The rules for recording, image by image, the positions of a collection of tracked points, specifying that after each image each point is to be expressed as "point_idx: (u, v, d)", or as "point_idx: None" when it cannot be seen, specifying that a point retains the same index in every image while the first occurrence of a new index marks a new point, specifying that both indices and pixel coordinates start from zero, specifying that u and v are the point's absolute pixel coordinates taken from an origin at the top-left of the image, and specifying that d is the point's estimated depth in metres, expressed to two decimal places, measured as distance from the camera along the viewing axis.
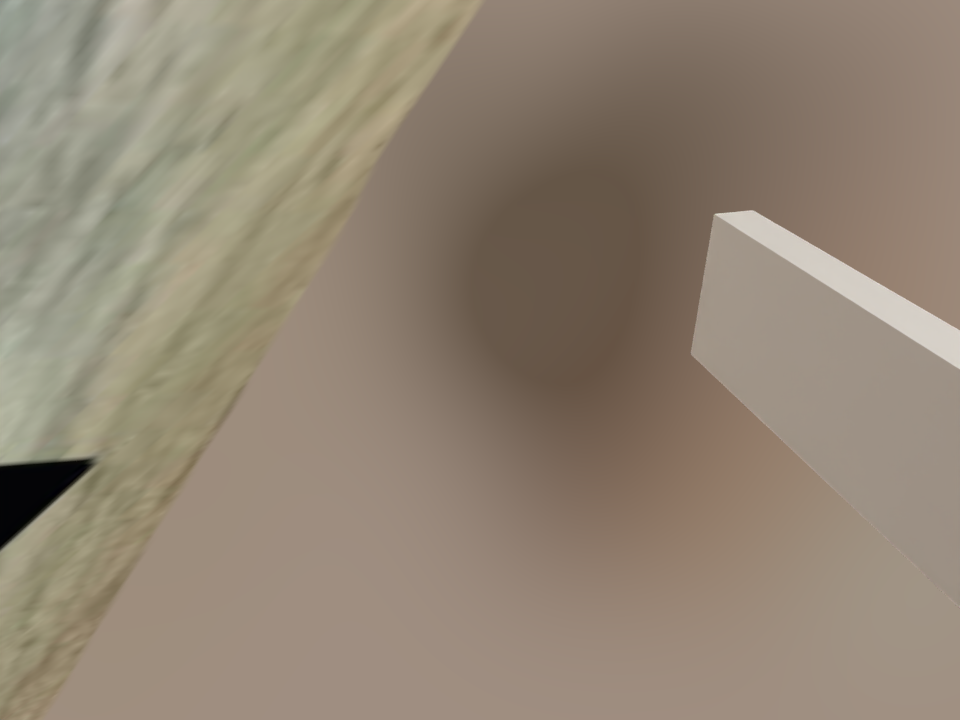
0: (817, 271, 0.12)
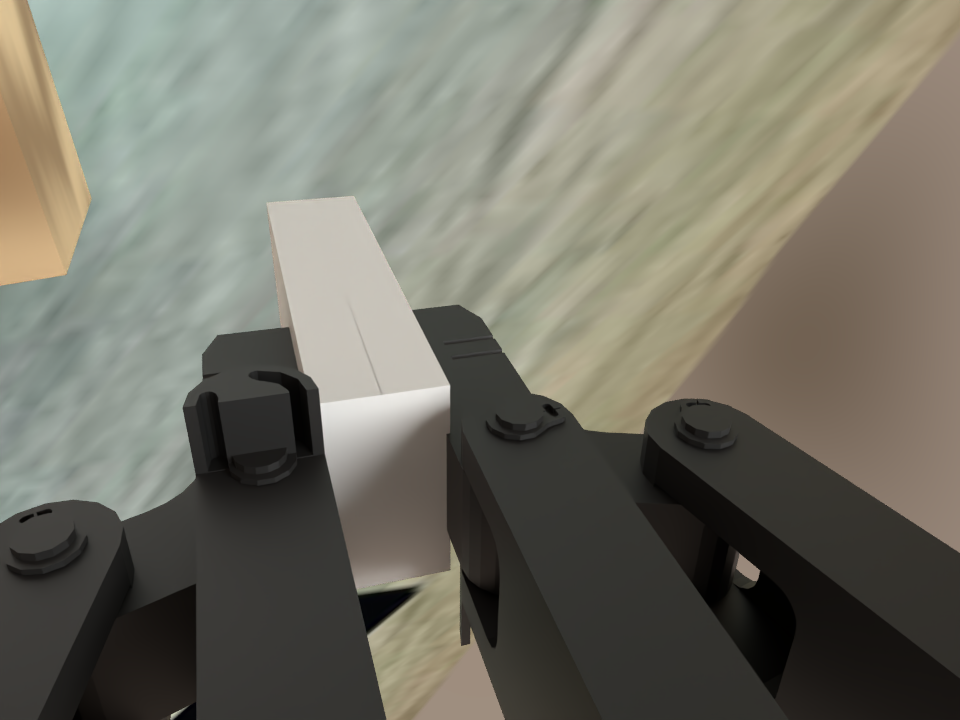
0: (342, 252, 0.12)
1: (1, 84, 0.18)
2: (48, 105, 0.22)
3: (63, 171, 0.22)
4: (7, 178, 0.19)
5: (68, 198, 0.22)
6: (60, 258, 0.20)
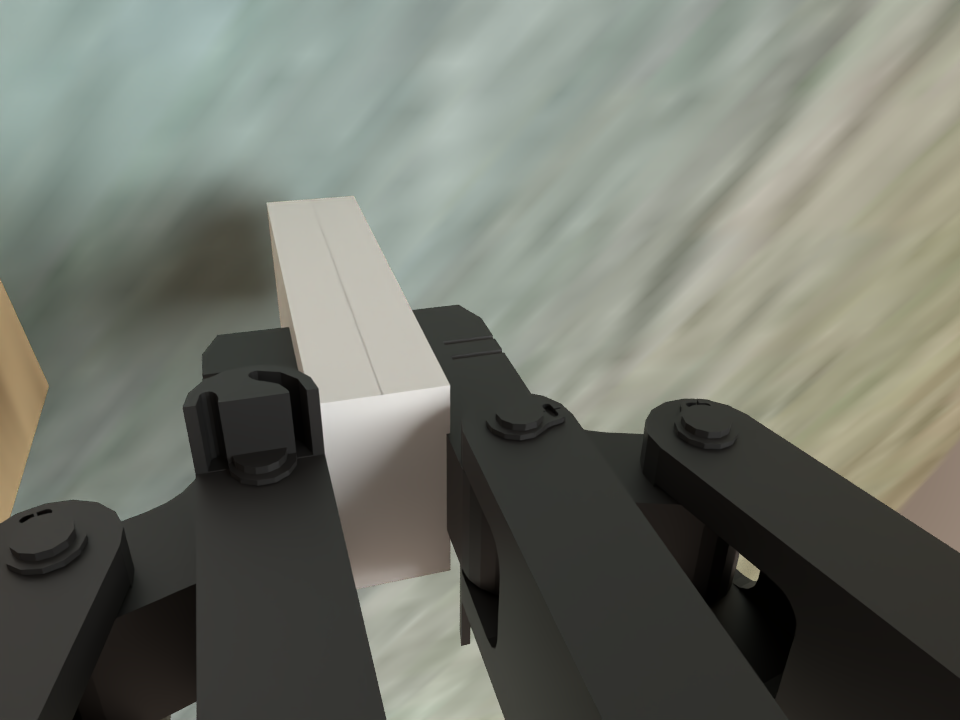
0: (342, 252, 0.12)
1: None
2: None
3: None
4: None
5: None
6: None
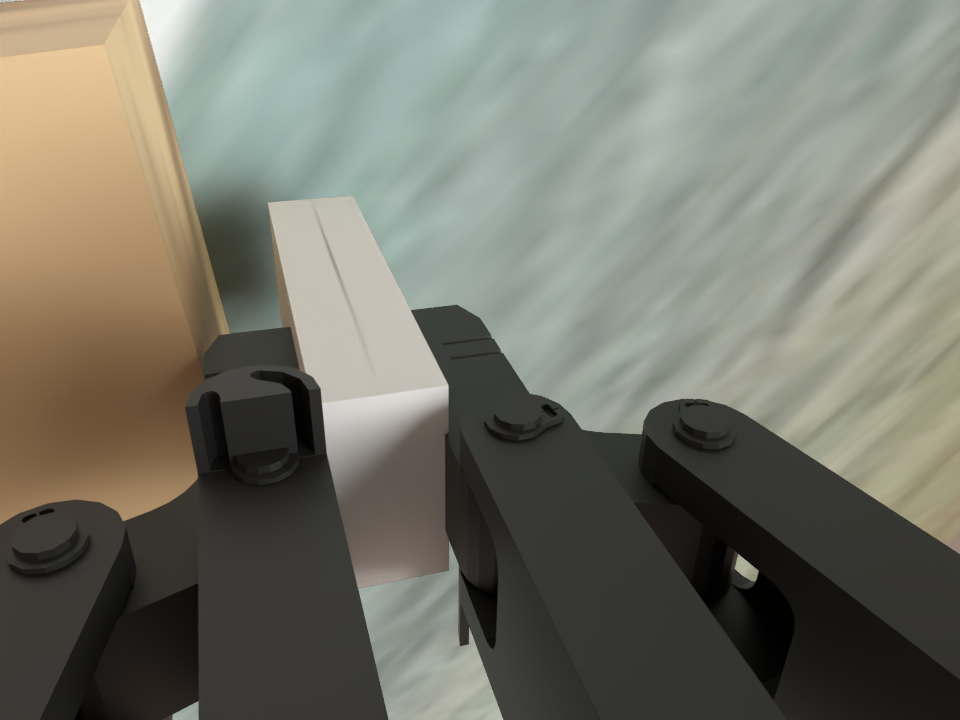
0: (341, 252, 0.12)
1: (166, 241, 0.10)
2: (194, 232, 0.14)
3: (218, 335, 0.14)
4: (169, 396, 0.11)
5: None
6: None
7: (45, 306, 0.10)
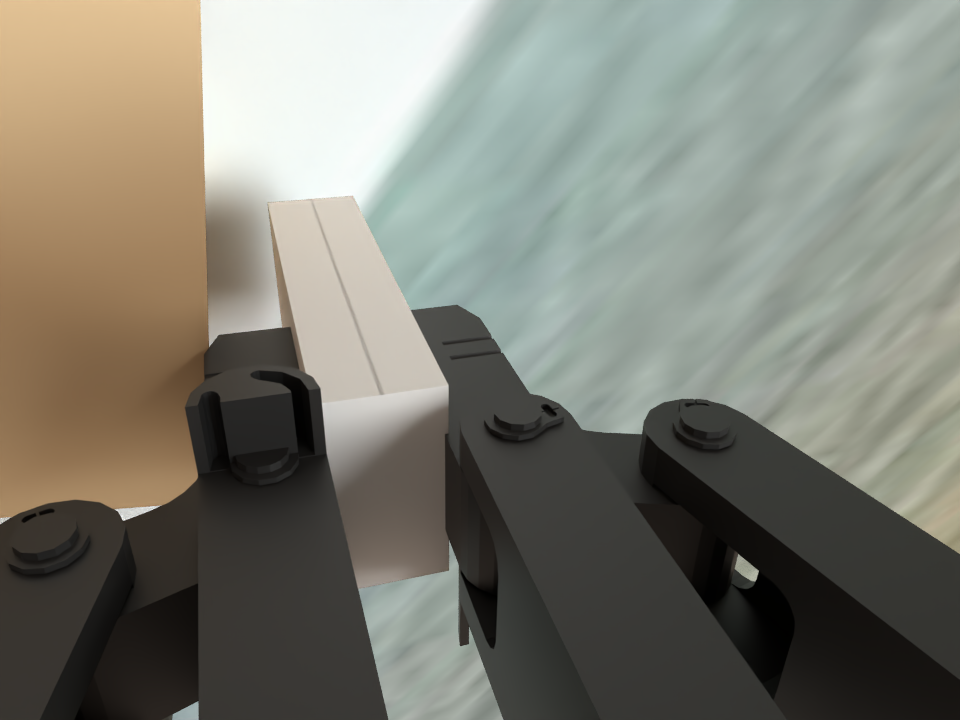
0: (341, 252, 0.12)
1: None
2: None
3: None
4: (168, 346, 0.11)
5: None
6: None
7: (70, 229, 0.10)
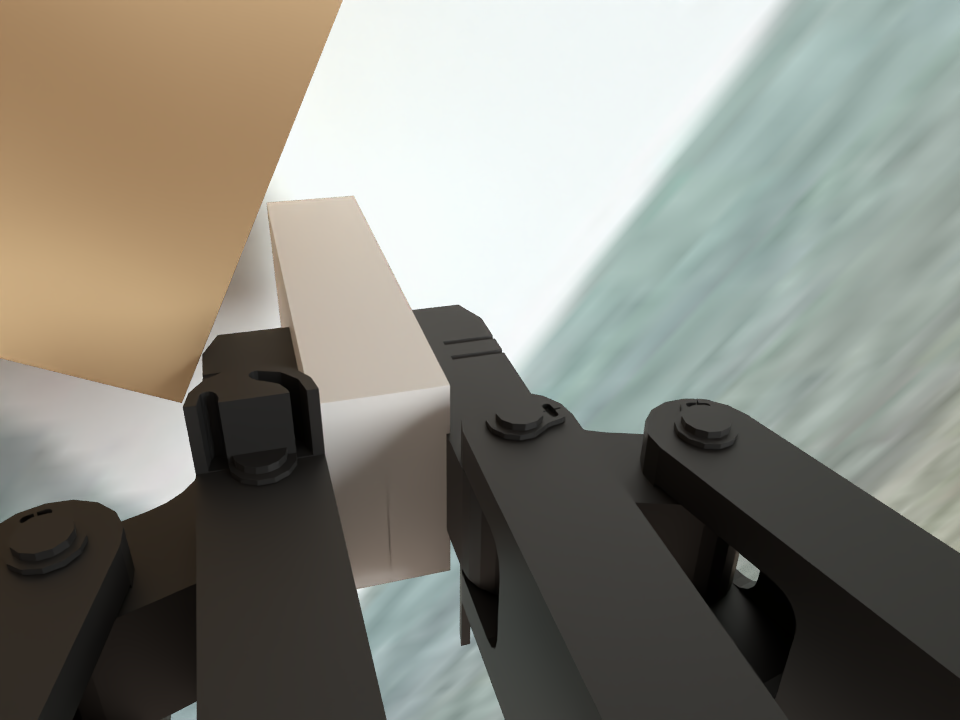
0: (342, 252, 0.12)
1: None
2: None
3: None
4: (210, 218, 0.10)
5: None
6: (192, 374, 0.11)
7: (165, 55, 0.09)
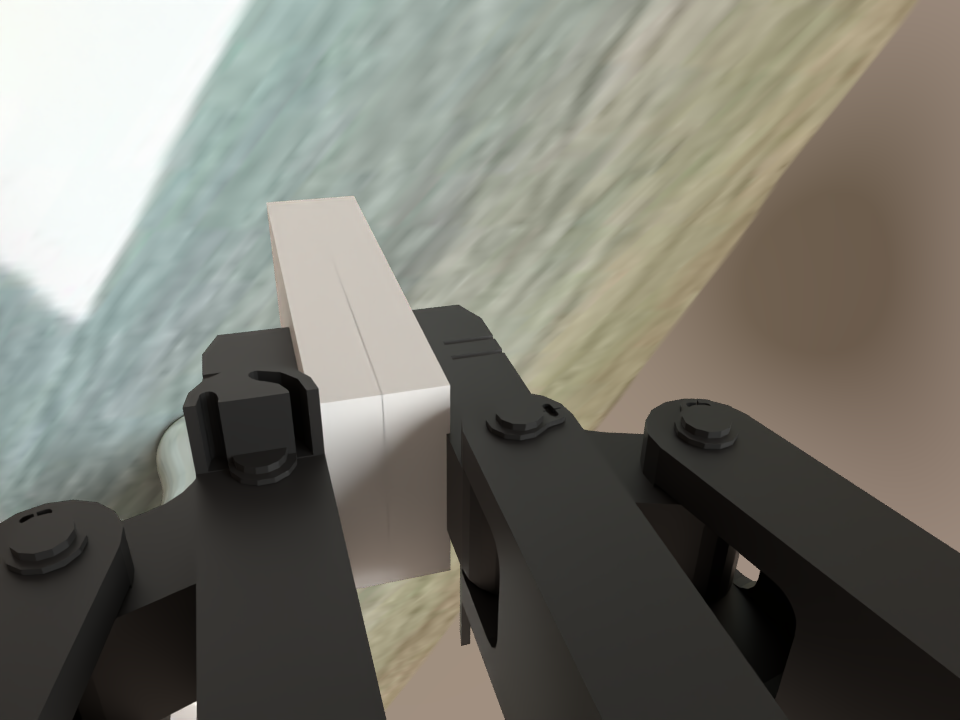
0: (342, 252, 0.12)
1: None
2: None
3: None
4: None
5: None
6: None
7: None
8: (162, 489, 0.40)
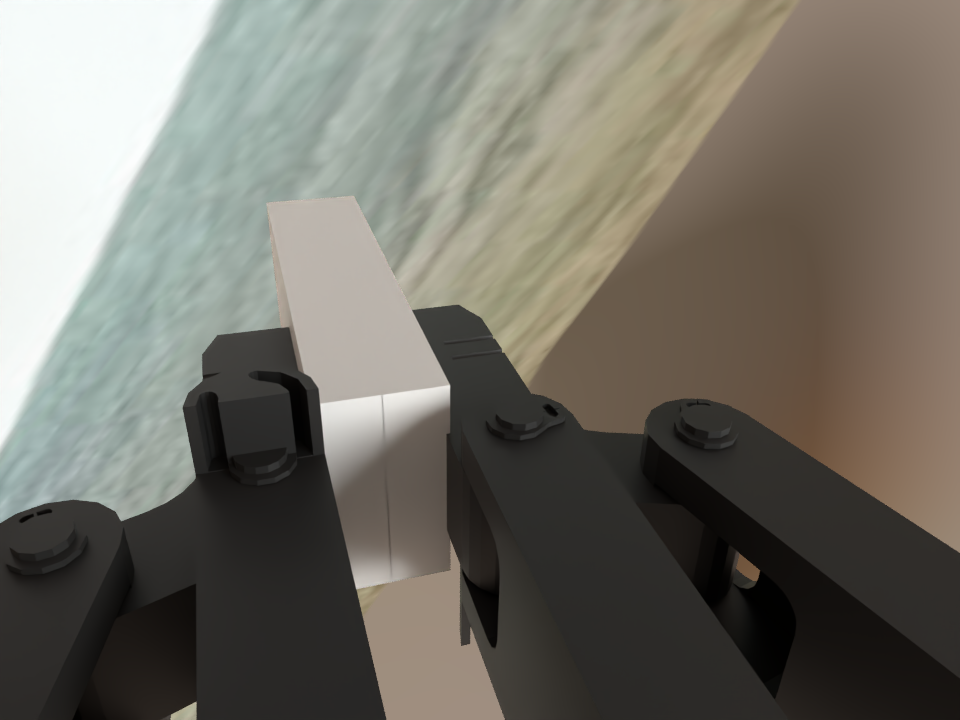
0: (342, 252, 0.12)
1: None
2: None
3: None
4: None
5: None
6: None
7: None
8: None
